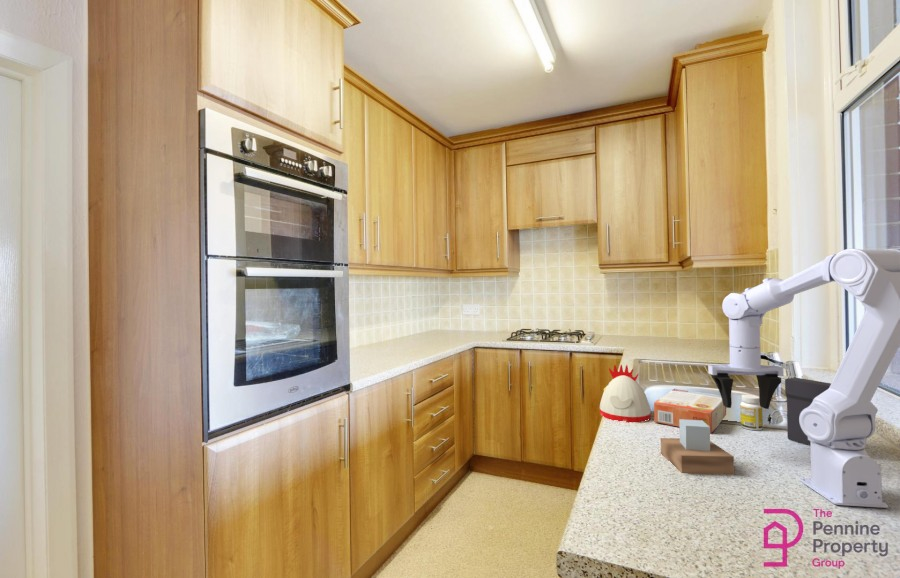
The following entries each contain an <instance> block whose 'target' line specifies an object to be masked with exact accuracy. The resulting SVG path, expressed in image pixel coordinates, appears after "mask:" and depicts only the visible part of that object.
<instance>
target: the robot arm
mask: <svg viewBox="0 0 900 578" xmlns="http://www.w3.org/2000/svg"><path fill="white" fill-rule="evenodd" d="M832 282H836V283H837V284H838V285H839V286H841V287H842V288H843V289H844V290H846V291H847V292H848V293H849V294H850V295H852V296H853V297H854V298H855V299H857V300H859V302H860V303H861V305H862V306H863V307H864V309H865V312H864V313H863V315H862V318H861V320H860V322H859V324H858V326H857V328H856V330H855V333H854V335H853V337H852V338H851V340H850V343H849V344H848V345H849V346H848V347H847V350H846V352H845V354H844V356H843V358H842V360H841V362H840V364H839V366H838V367H837V371H836V373H835V375H834V377H833V379H832V381H831V385H830V387H829V389H827V390H826V391H824V392H823V393H821V394H820V395H818V396H817V397H815V398H814V399H813V402H812V403H811V405H810V406H809V407H807V408H805V409H804V410H803V411H802V412H801V413H800V416H799V423H800V426H801V428H802V430H803V432H804V433H805V434H806V435H807V436H808V440H810V441H811V446H810V478H809V477H799V479H798V480H799V481H800V482H801V483H803V484H804V485H806V486H807V487H808V488H810V489H812V490H813V491H815V492H817V494H818V495H821V496H822V497H824V498H825V499H826V500H827V501H829V502H830V503H832V504H834V505H837V506H848V507H851V506H852V507H867V508H885V509H888V508H889V505H888V504H887V503H886V502H884V501H883V486H882V484H883V482H882V481H883V479H882V478H883V477H882V470H881V469H882V468H881V467H880V464H878V462H877V461H875V460H874V459H873V458H871V457H870V455H869V454H868V453H867V452H866V448H865V447H866V446H867V439H869V438H871V437H872V436H873V435H874V434H875V432H876V416H877V413H878V412H879V410H878V408H877V407H876V406H875V404H873V403H872V399H873V397H874V395H875V393H876V392H877V390H878V388H879V386H880V384H881V382H882V381H883V379H884V376H885V374H886V372H887V370H888V369H889V367H890V364H891V363H892V361H893V359H894V357H895V355H896V353H897V351H898V349H899V347H900V249H896V248H885V249H859V248H846V249H843V250H841V251H839V252H837V253H834V254H831V255H827V256H826V257H825V258H824V259H822V260H821V261H819V262H817V263H815V264H812V265H810V266H809V267H807V268H805V269H803V270H801V271H799V272H797V273H795V274H793V275H791V276H789V277H787V278H786V279H781V278H778V277H774V278H773V277H767V278H764V279H762V283H760V284H758V285H756V286H754V287H747V288H745V289H744V291H743V292H741V293H738V292H731V293H729V294H728V295H727V296H725V297H724V298H723V300H722V305H721V306H722V307H721V308H722V311H723V314H724V315H725V316H726V317H727V318H728V334H729V335H728V343H729V363H727V364H707V366H708V367H707V370H708V374H709V375H711V379H712V380H713V382H714V383H715V385H716V387H717V389H718V392H719V394H720V395H721V398H722V401H723V406H725V407H726V409H727V408H728V409H731V408H732V390H733V389H732V388H733V383H734V378H731V377H730V376H733V375H734V376H735V375H736V376H738V375H739V376H756V380H757V385H758V392H759V393H758V397H759V402H760V403H759V404H760V406H761V407H762V409H767V410H769V409H770V405H771V402H772V399H773V396H774V394H775V392H776V390H777V388H778V387H779V386H780V385H781V383H782V377H784V367H783V366H779V365H765V364H763V365H762V363H761V362H762V361H761V359H762V357H761V354H762V352H761V326H762V325H763V318H764V316H765V315H766V313H768V312H770V311H773V310H775V309H778V308H780V307H783V306H786V305H788V304H790V303H792V302H793V300H794V298H795V295H798V294H799V293H800V294H801V293H803V292H807V291H809V290H812V289H814V288H817V287H820V286H823V285H826V284H829V283H832Z"/></svg>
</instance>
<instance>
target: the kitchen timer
mask: <svg viewBox="0 0 900 578" xmlns="http://www.w3.org/2000/svg"><path fill="white" fill-rule="evenodd" d="M617 368H618V367H617V366H616V364H613V370H612V369H611V368H610V367H609V368H608V371H609V373H610V375H611V377H612V379H611V381H609V383H607V385H606V386H604V388H603V393H602V396H601V398H600V399H601V400H600V403H599V414H600V416H601V417H603V416H604V417H603V418H605V419H607V420H610V419H611V421H614V420H618V421H617V422H620V421H626V422H625V423H629V422H638V423H642V422H641V421H645V420H648V419H650V420H651V418H652V417H651V416H652V415H651V414H652V413H651V406H650V403H649V401H648V397H647V394H646V392H645V391H644V389H643V388H642V386H641V385H640V383H638V382H637V379H638V377H639V373H637V374H636V375H635V376H633V372H634V368H632V369H631V370H630V371H629V367H628V364H626V365H625V369H623V365H622V364H621V365H620V367H619V370H618V369H617ZM650 417H651V418H650ZM648 421H649V420H648ZM645 422H646V421H645Z"/></svg>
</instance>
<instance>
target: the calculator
mask: <svg viewBox="0 0 900 578" xmlns="http://www.w3.org/2000/svg"><path fill="white" fill-rule="evenodd" d="M831 383H832V382H831ZM831 383H830V382H825V381H817V380H812V379H806V378H801V377H789V378H785V379H784V393H785V396H786V420H787V423H786V425H787V428H786V429H787V431H786V432H787V439H788V440H789V441H793V442H795V443H799V444H802V445H806V446H809V447H811V441H810V440H808V436H807V435H806V434H805V433H804V432H803V430H802V428H801V426H800V423H799V416H800V413H801V412H802V411H803V410H804V409H805V408H807V407H809V406H810V405H811V403H812V402H813V399H814V398H815V397H817V396H818V395H820V394H821V393H823V392H824V391H826V390H827V389H829V387H830V385H831Z"/></svg>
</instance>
